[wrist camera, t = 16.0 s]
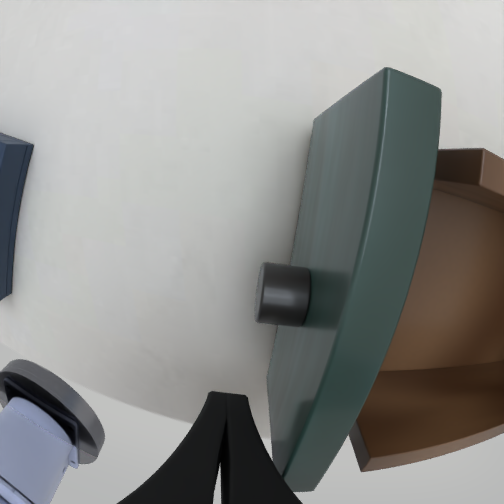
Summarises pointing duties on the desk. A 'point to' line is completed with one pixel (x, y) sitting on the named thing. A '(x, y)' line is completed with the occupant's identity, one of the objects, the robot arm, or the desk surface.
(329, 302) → the drawer
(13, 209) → the tray
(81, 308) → the desk surface
